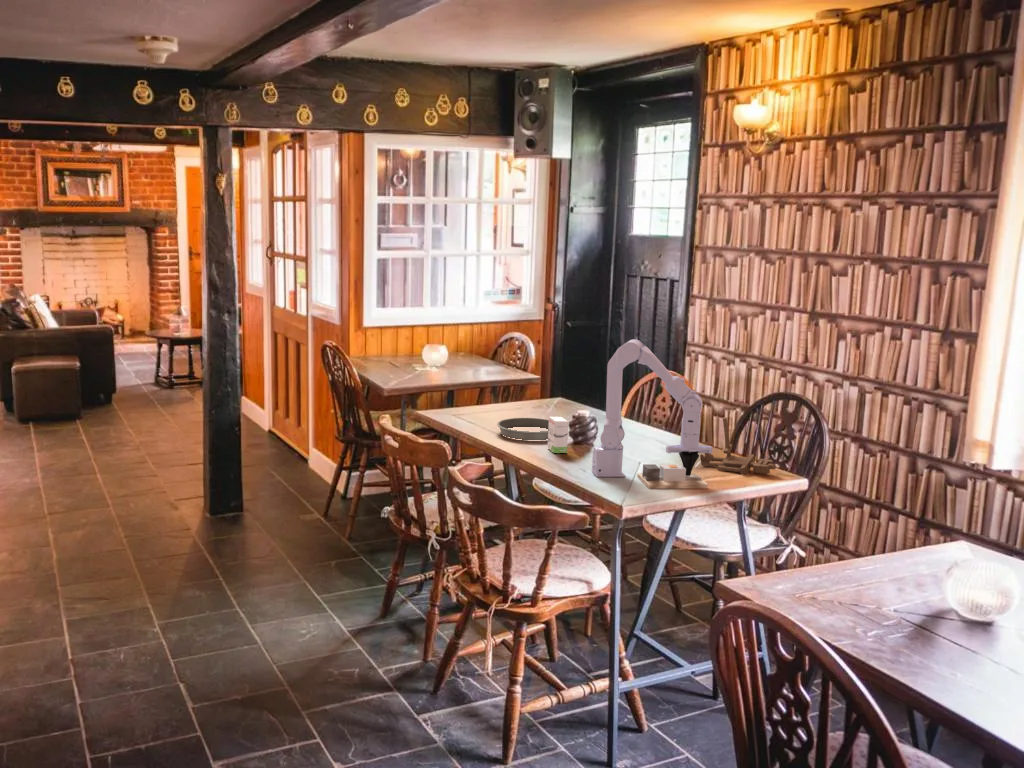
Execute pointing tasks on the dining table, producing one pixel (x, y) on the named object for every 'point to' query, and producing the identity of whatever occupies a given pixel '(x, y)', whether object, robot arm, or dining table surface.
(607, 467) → the robot arm
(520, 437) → the cake pan
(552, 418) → the ink box
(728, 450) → the wooden figure
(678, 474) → the block
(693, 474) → the rail board
